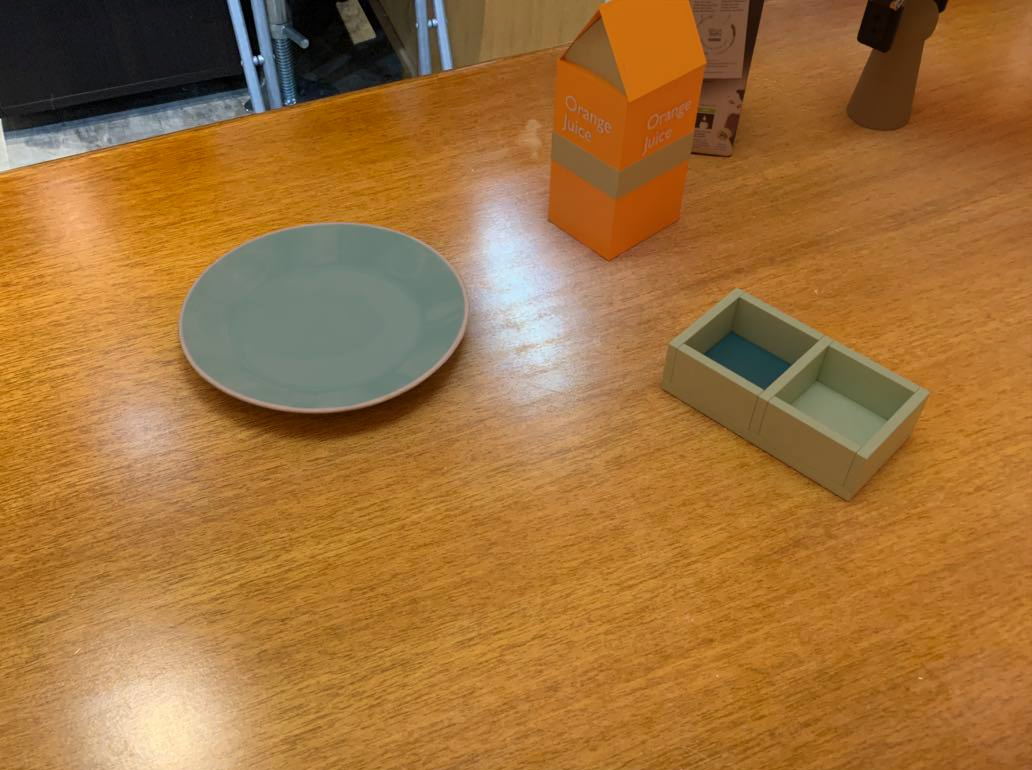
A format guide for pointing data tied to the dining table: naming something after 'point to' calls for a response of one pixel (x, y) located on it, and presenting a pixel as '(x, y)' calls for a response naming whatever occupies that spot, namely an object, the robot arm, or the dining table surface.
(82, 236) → the dining table surface
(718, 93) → the coffee box
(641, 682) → the dining table surface
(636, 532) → the dining table surface
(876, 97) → the brown pawn
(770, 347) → the tray
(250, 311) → the plate
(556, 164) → the orange juice
